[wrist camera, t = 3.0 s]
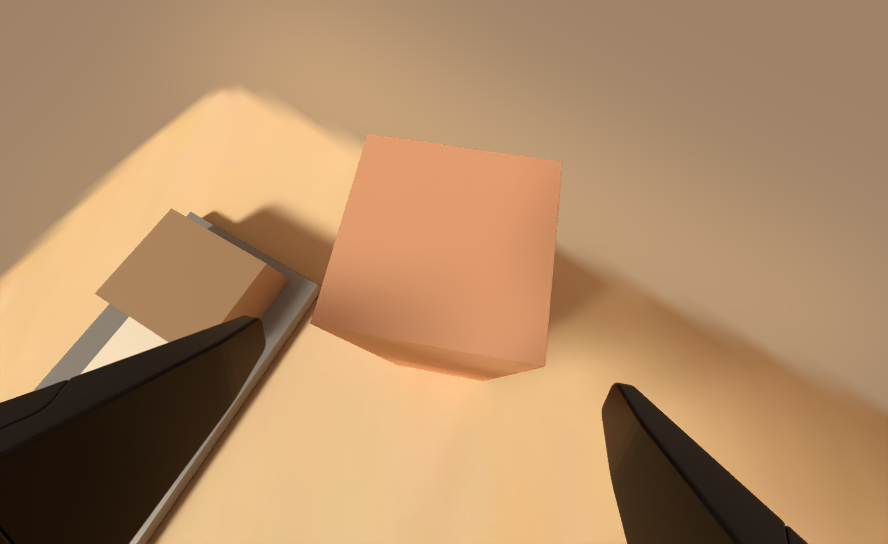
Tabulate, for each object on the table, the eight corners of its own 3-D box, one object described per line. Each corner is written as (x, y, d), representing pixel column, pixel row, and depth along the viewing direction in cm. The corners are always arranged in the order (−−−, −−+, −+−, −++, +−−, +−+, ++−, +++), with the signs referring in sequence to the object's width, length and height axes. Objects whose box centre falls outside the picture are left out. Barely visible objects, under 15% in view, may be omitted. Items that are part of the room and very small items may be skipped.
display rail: (30, 710, 14) (-90, 803, 11) (-108, 575, 15) (-249, 621, 12) (322, 288, 19) (298, 269, 16) (199, 218, 21) (156, 188, 18)
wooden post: (483, 381, 18) (544, 365, 6) (396, 364, 18) (310, 323, 7) (494, 296, 19) (562, 162, 8) (414, 282, 20) (367, 133, 8)
